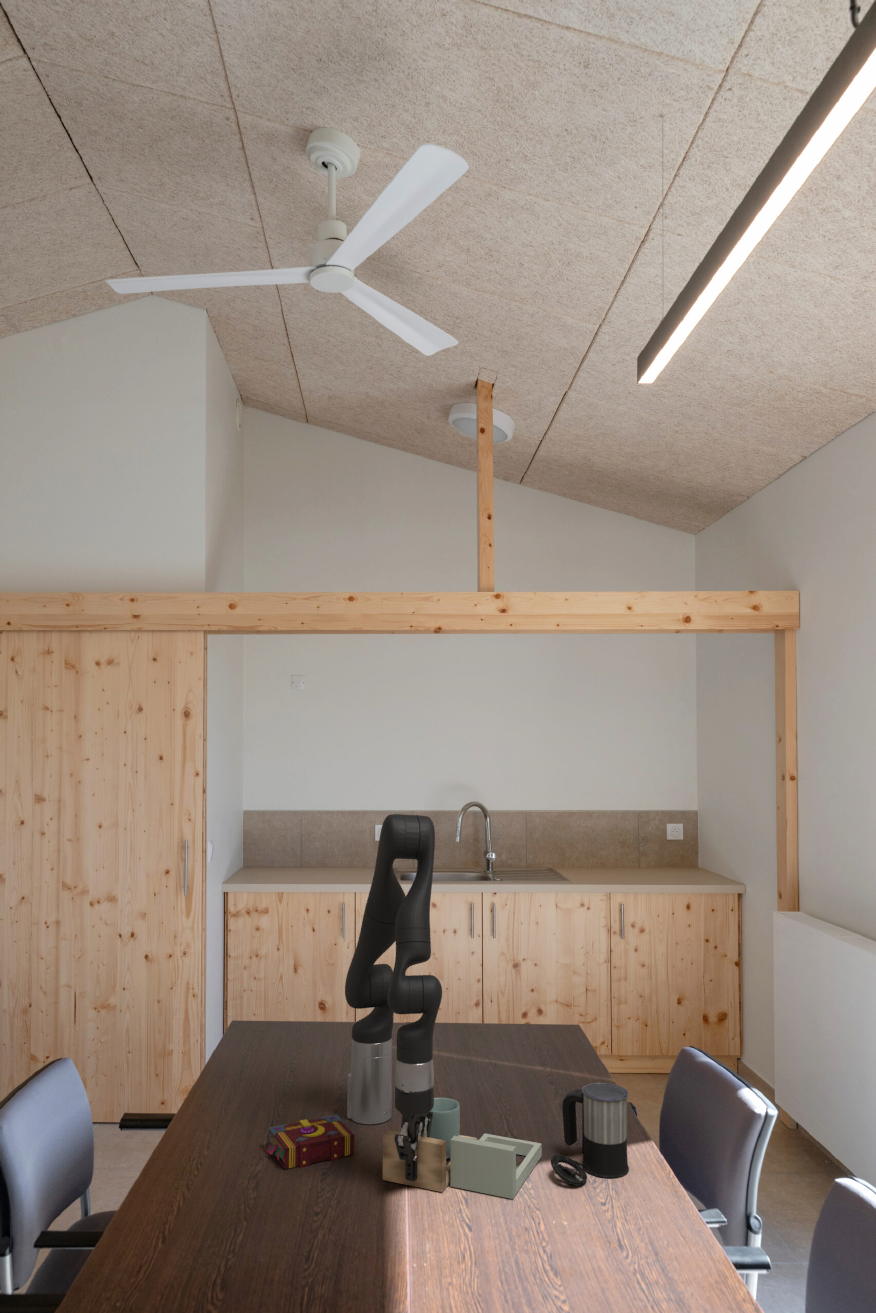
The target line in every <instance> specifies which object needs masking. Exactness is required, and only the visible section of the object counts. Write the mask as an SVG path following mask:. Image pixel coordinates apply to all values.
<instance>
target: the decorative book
mask: <svg viewBox="0 0 876 1313" xmlns="http://www.w3.org/2000/svg"><path fill="white" fill-rule="evenodd" d="M298 1121H299V1122H296V1123H295V1122H294V1123H292V1124H286V1123H285V1124H280V1125H275V1126H270V1127H269V1126H268V1132H269V1134H270V1135H271V1143H270V1144H268V1145H267V1149H266V1151H265V1152H266V1153H267V1154H270V1156H271V1155H272V1156H275V1157H276V1159H277V1161H278V1162H279V1163H280V1165H281V1166H282V1168H283V1169H284V1170H288V1169H292V1168H297V1167H299V1168H301V1169H302V1168H305V1167H309V1166H310V1165H311V1164H315V1163H316V1164H317V1163H320V1162H324V1161H328V1160H330V1162H333V1161H338V1160H341V1159H342V1158H343V1157H347V1156H352V1155H355V1134H354V1133H353V1132H352V1131H351V1130H350V1129H349V1128H348V1127H347V1125H345V1124H344V1123H343V1120H342V1119H341V1118H340V1117H339V1116H338V1115H337V1114H333V1115H332V1114H331V1115H327V1116H322V1117H319V1118H317V1119H311V1120H308V1119H307V1118H306V1119H300V1120H298Z"/></svg>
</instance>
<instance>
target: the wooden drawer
mask: <svg viewBox="0 0 876 1313" xmlns="http://www.w3.org/2000/svg"><path fill="white" fill-rule="evenodd" d="M400 1133H401V1131H396V1130H389V1129H387V1130H385V1131H384V1132H383V1134H382V1181H387V1182H392V1183H396V1184H401V1185H406V1186H410V1187H415V1188H420V1189H425V1190H430V1191H435V1192H440V1193H443V1192H444V1191H445V1189H446V1188H448V1186H449V1185H450V1184H451V1160H450V1161H449V1162H448V1164H447V1159H446V1141H445V1140H440V1139H434V1138H429V1137H422V1136H421V1139H420V1146H419V1147H418V1153H417V1179H416V1180H415V1181H410V1180H407V1179H406V1178H405V1160H400V1159H399V1155H398V1151H397V1148H396V1144H395V1140H394V1138H395V1135H396V1134H398V1135H400ZM459 1137H465V1138H470V1139H476V1140H478V1137H474V1136H473V1137H472V1136H469V1135H461V1134H459ZM410 1141H411V1140H410ZM414 1142H416V1141H414ZM412 1152H413V1148H412Z"/></svg>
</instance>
